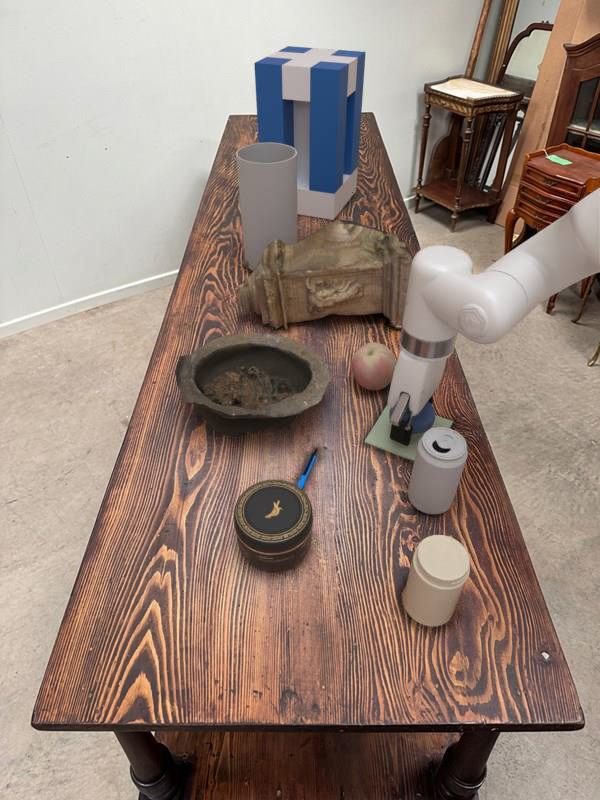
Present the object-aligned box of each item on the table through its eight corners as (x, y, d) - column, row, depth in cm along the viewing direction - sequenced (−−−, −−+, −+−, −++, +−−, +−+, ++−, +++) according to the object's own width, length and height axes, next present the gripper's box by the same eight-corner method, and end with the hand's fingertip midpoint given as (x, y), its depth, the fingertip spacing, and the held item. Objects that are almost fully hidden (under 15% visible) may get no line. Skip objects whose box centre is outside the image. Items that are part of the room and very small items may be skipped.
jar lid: (380, 421, 84) (381, 413, 83) (403, 397, 88) (404, 389, 87) (420, 441, 81) (421, 433, 80) (442, 415, 85) (443, 407, 84)
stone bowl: (177, 463, 82) (166, 417, 76) (190, 368, 101) (182, 326, 95) (338, 451, 83) (340, 404, 77) (320, 360, 102) (321, 317, 97)
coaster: (452, 422, 88) (453, 421, 88) (431, 468, 81) (431, 466, 81) (389, 401, 92) (390, 399, 92) (364, 442, 85) (364, 440, 85)
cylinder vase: (255, 247, 133) (248, 140, 116) (303, 253, 131) (303, 145, 114) (237, 272, 124) (227, 160, 107) (289, 279, 122) (287, 166, 105)
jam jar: (460, 592, 67) (479, 546, 60) (445, 636, 63) (463, 592, 56) (413, 570, 69) (425, 523, 62) (395, 611, 65) (406, 566, 58)
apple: (358, 365, 99) (361, 330, 94) (398, 376, 97) (404, 340, 92) (343, 392, 94) (346, 356, 88) (385, 404, 92) (391, 368, 86)
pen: (319, 451, 84) (319, 446, 83) (274, 554, 71) (274, 549, 70) (313, 450, 84) (314, 445, 84) (268, 552, 71) (267, 547, 70)
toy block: (356, 190, 159) (365, 51, 135) (333, 219, 144) (339, 70, 121) (290, 181, 164) (288, 46, 140) (262, 208, 150) (254, 62, 126)
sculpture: (424, 238, 93) (223, 256, 94) (418, 334, 106) (242, 348, 108) (407, 198, 106) (232, 214, 108) (404, 287, 119) (248, 300, 121)
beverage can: (398, 500, 77) (409, 444, 69) (421, 474, 81) (435, 417, 72) (437, 525, 74) (454, 469, 66) (460, 496, 77) (479, 440, 69)
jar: (313, 513, 75) (314, 479, 70) (310, 579, 68) (311, 546, 63) (243, 510, 76) (238, 475, 71) (232, 575, 69) (226, 542, 63)
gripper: (428, 299, 81) (411, 388, 93) (374, 360, 70) (363, 451, 82) (476, 315, 78) (452, 404, 90) (427, 381, 67) (407, 472, 79)
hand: (409, 426), depth 86 cm, fingers closed on jar lid, 6 cm apart
